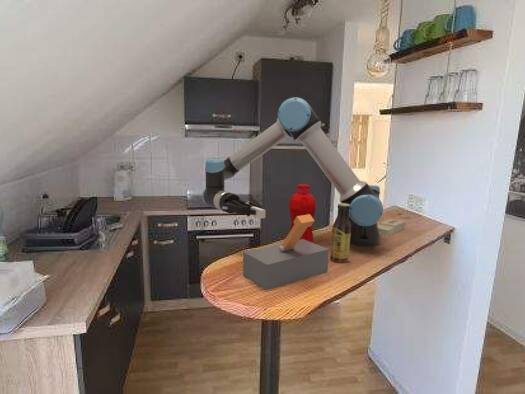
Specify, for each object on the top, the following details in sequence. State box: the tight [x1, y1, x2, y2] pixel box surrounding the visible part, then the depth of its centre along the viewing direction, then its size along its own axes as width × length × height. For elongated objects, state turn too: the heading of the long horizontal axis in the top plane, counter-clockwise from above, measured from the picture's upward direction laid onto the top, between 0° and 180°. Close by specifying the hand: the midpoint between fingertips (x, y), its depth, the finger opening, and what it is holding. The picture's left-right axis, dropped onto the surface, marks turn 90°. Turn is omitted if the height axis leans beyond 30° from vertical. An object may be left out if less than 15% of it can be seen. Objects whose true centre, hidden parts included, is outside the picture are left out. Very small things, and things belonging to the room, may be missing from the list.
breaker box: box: [242, 239, 330, 291], centre depth 107 cm, size 24×12×8 cm, turn 126°
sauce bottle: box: [329, 202, 351, 263], centre depth 119 cm, size 6×6×20 cm
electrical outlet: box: [377, 218, 406, 238], centre depth 158 cm, size 7×4×18 cm
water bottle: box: [288, 183, 317, 244], centre depth 126 cm, size 9×11×25 cm
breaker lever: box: [279, 214, 315, 252], centre depth 103 cm, size 5×3×14 cm
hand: (263, 214), depth 115 cm, fingers closed
